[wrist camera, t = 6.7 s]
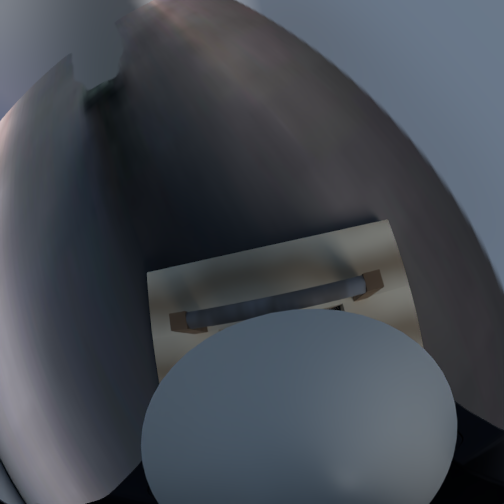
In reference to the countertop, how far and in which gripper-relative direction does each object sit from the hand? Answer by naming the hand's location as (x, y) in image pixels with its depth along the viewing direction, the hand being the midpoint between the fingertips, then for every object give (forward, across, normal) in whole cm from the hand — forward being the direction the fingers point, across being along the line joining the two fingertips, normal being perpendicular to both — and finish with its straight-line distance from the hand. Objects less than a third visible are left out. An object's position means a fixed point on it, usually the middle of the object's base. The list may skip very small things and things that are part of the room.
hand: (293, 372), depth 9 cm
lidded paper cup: (+4, 0, +6) cm, 7 cm away
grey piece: (+11, +1, +8) cm, 14 cm away
